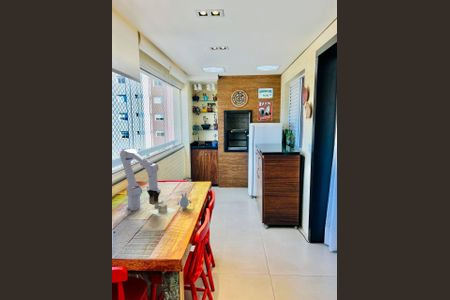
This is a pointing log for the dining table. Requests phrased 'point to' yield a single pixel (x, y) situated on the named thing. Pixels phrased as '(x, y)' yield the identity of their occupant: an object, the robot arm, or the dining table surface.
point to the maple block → (162, 208)
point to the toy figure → (184, 202)
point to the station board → (169, 210)
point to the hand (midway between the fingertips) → (154, 200)
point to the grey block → (159, 203)
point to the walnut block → (152, 200)
